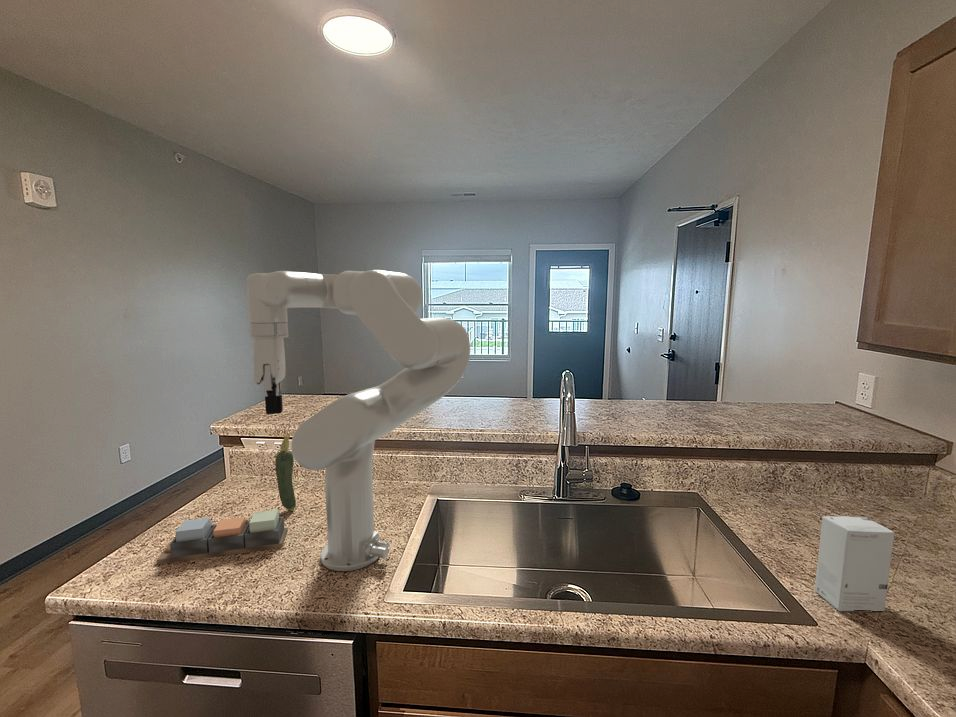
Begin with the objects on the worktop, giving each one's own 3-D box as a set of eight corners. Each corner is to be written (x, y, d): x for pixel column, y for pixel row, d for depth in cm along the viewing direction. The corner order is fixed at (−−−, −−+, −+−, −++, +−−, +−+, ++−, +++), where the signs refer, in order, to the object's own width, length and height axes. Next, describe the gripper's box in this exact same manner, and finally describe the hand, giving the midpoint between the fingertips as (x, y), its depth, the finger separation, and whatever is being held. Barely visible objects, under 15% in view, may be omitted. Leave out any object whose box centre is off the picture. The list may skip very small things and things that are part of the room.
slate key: (211, 534, 97) (210, 517, 96) (203, 546, 92) (202, 528, 92) (186, 537, 96) (184, 520, 95) (177, 549, 91) (175, 531, 90)
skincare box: (838, 612, 75) (847, 531, 73) (812, 590, 81) (819, 514, 79) (887, 613, 75) (897, 531, 73) (857, 590, 81) (866, 514, 79)
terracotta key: (246, 533, 99) (245, 516, 98) (240, 545, 94) (239, 527, 93) (222, 536, 98) (220, 519, 97) (214, 548, 93) (213, 530, 92)
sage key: (279, 525, 100) (278, 509, 100) (275, 536, 96) (274, 519, 95) (255, 528, 99) (254, 512, 99) (250, 540, 94) (249, 522, 94)
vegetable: (283, 516, 110) (278, 439, 107) (274, 511, 112) (270, 436, 110) (300, 509, 113) (295, 435, 110) (291, 505, 116) (286, 432, 113)
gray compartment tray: (287, 531, 102) (286, 515, 101) (282, 547, 95) (281, 530, 95) (170, 546, 96) (169, 529, 95) (156, 564, 89) (154, 546, 89)
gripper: (258, 329, 101) (263, 406, 103) (241, 333, 86) (247, 423, 89) (293, 328, 103) (297, 404, 105) (282, 332, 88) (287, 420, 91)
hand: (274, 412), depth 97 cm, fingers closed
